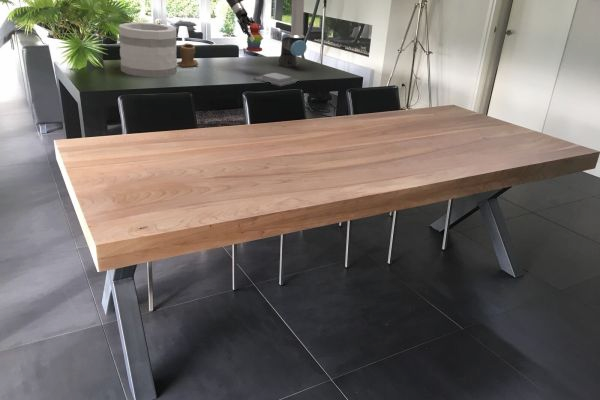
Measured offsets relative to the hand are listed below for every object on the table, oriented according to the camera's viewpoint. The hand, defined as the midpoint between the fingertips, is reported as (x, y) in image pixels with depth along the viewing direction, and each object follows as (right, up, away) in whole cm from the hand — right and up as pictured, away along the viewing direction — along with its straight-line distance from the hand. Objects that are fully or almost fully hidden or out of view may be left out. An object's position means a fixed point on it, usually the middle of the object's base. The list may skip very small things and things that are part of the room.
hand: (257, 40), depth 336 cm
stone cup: (-49, -14, +14) cm, 53 cm away
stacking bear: (-3, -6, +5) cm, 8 cm away
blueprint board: (+13, -27, 0) cm, 30 cm away
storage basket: (-70, -24, -11) cm, 74 cm away
